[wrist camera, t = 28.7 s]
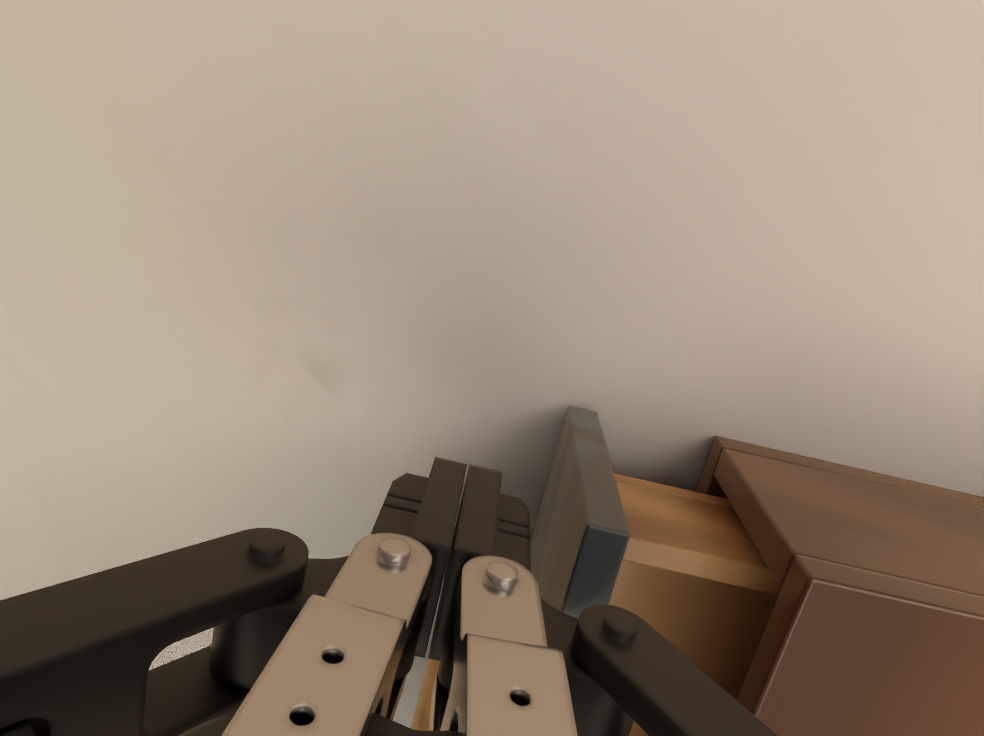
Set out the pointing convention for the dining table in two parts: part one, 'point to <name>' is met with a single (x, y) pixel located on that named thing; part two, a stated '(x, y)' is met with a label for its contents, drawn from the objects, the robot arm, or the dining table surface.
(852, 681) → the cabinet
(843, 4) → the dining table surface
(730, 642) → the drawer
